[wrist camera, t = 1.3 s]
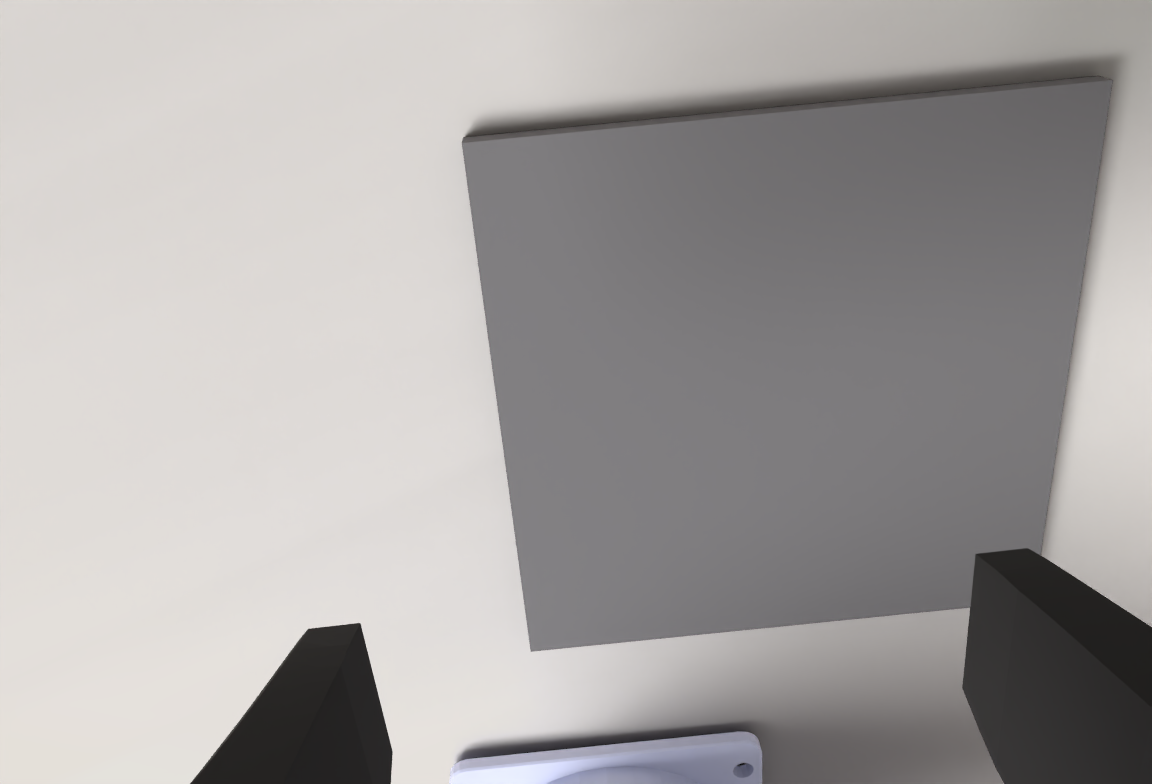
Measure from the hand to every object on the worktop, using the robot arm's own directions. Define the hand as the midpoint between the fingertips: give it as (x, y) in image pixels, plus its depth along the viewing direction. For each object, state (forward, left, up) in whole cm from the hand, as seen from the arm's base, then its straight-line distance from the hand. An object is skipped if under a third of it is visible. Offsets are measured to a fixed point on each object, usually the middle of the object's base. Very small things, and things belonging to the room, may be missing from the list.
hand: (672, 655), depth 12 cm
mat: (-2, -4, -10) cm, 11 cm away
